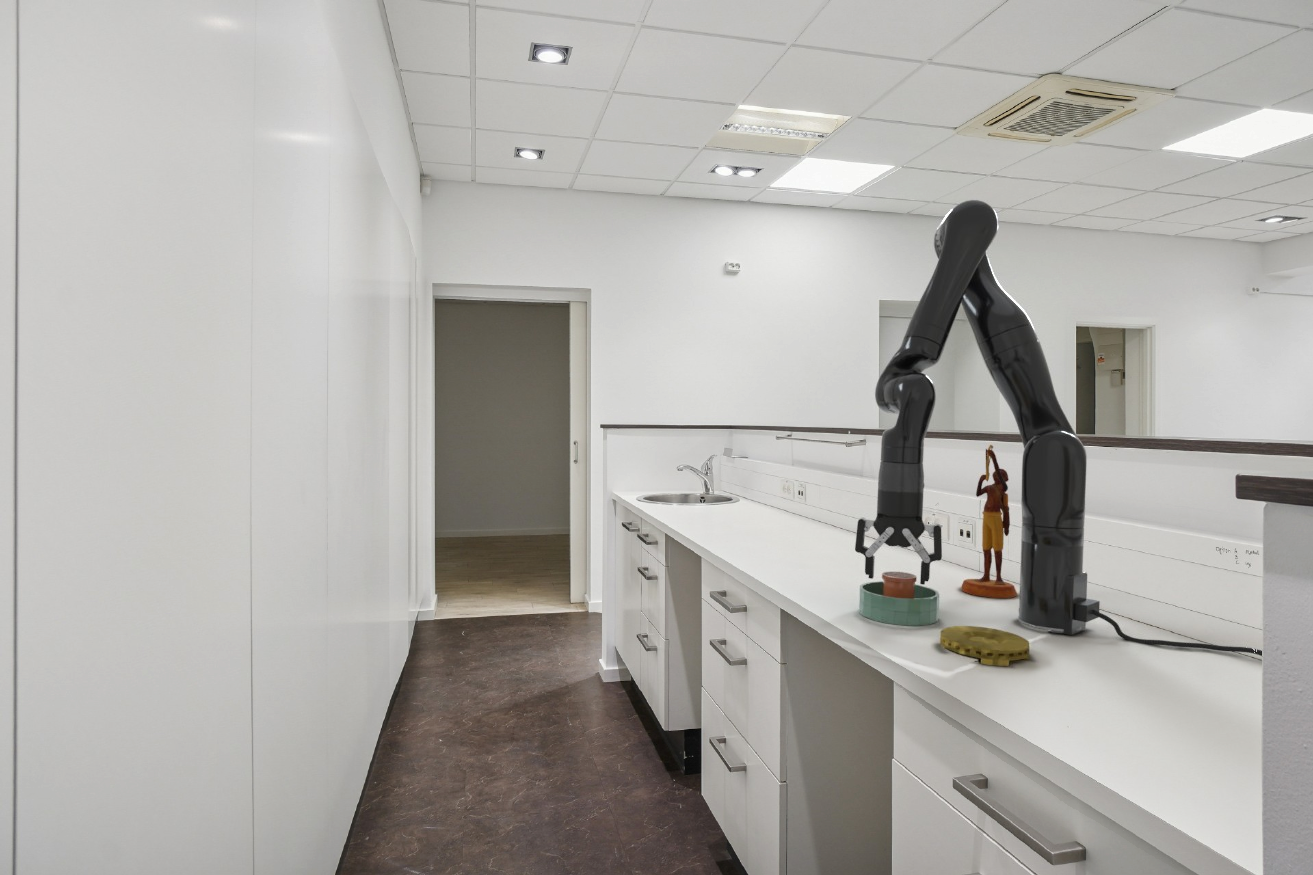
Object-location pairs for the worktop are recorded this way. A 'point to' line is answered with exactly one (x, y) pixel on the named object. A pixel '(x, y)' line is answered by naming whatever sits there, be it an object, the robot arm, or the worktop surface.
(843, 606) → the worktop surface
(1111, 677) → the worktop surface
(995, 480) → the sculpture
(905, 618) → the bowl
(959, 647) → the olive yellow slotted disc
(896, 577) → the orange cylinder
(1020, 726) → the worktop surface
